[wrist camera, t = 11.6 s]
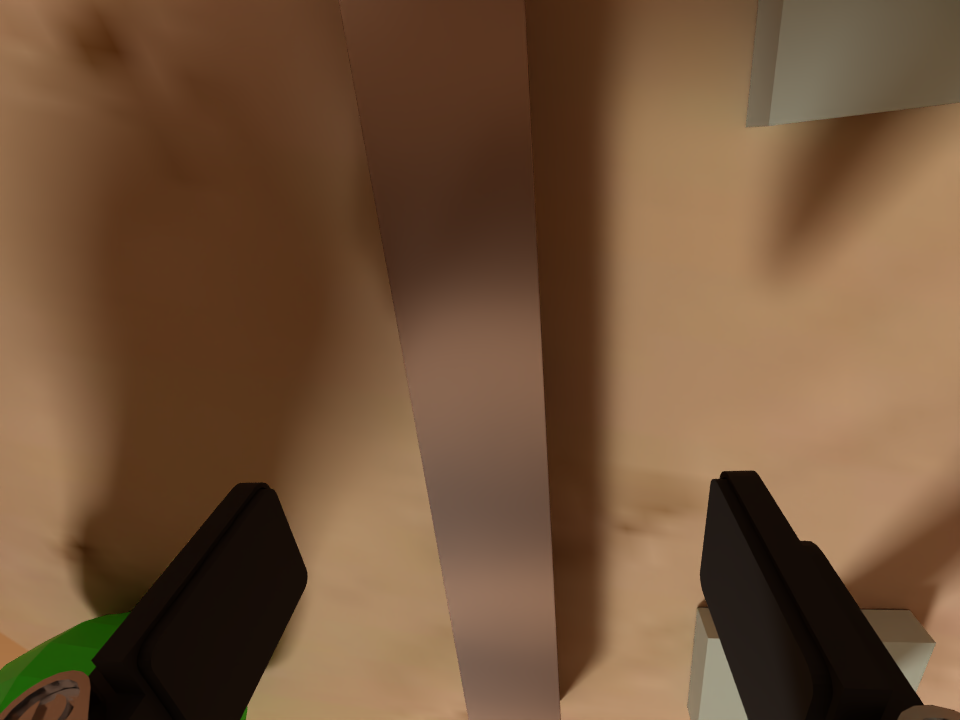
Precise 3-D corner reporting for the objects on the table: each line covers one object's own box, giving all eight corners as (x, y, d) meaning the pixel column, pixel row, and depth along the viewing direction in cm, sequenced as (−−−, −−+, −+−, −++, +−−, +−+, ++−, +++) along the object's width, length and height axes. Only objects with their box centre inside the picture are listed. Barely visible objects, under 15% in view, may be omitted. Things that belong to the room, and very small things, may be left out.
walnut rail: (374, -140, 10) (284, -296, 6) (516, -168, 10) (506, -351, 6) (491, 690, 21) (483, 802, 18) (559, 693, 21) (564, 808, 17)
